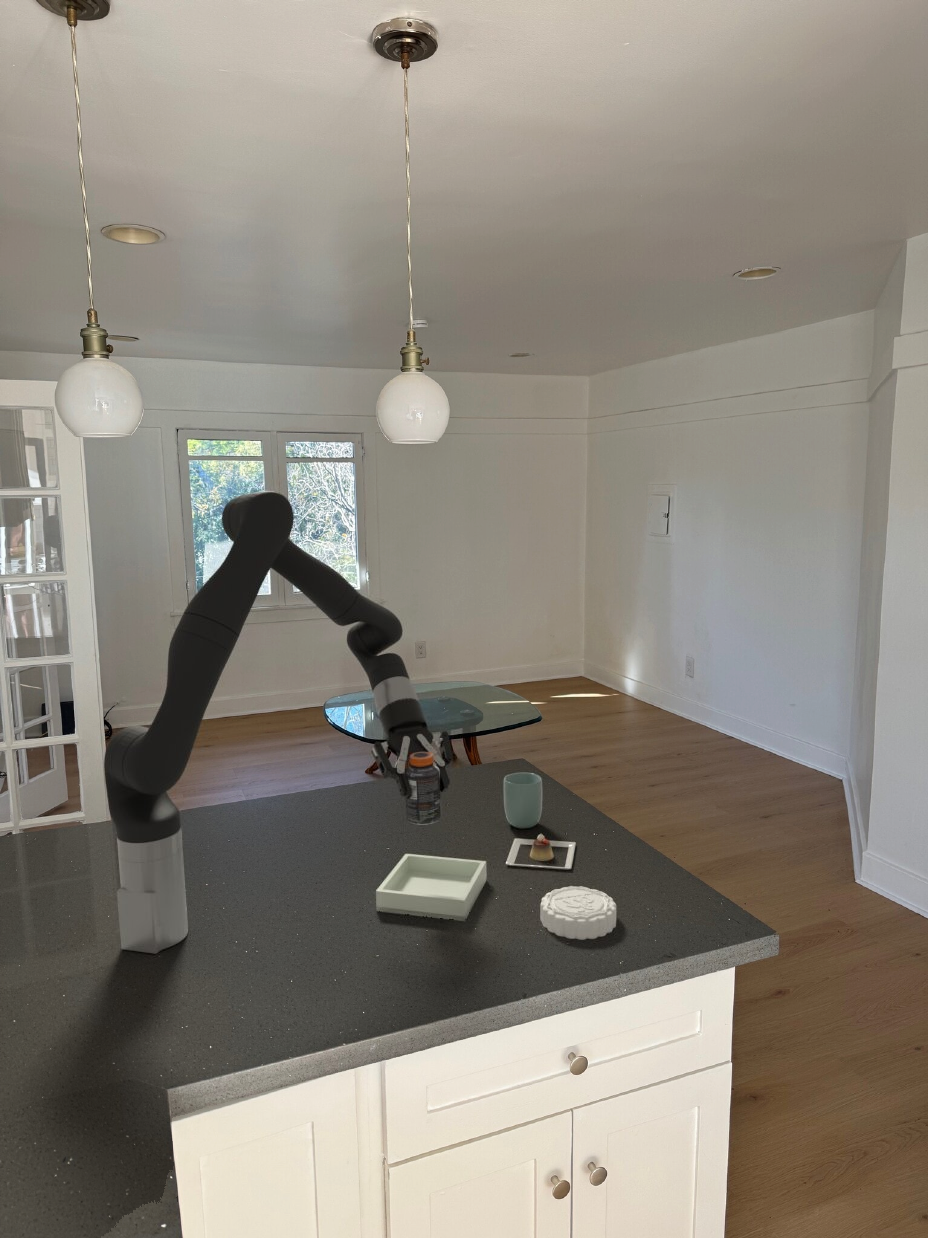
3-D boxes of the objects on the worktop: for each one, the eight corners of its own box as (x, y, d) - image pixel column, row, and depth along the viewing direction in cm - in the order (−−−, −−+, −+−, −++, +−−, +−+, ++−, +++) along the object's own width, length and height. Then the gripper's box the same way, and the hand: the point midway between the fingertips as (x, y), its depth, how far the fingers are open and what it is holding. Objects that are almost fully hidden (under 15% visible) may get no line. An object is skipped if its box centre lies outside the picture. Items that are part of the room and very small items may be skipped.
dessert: (571, 874, 149) (571, 849, 149) (505, 869, 152) (505, 845, 151) (575, 847, 161) (575, 824, 160) (514, 843, 163) (514, 820, 163)
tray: (464, 921, 132) (464, 900, 132) (376, 911, 136) (375, 891, 135) (486, 880, 146) (486, 861, 146) (406, 872, 150) (405, 853, 150)
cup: (497, 822, 173) (497, 775, 172) (530, 815, 177) (530, 770, 175) (515, 835, 166) (515, 787, 165) (549, 828, 170) (548, 781, 168)
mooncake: (557, 946, 125) (557, 924, 124) (529, 909, 136) (529, 889, 136) (629, 934, 128) (630, 912, 127) (596, 899, 139) (597, 879, 139)
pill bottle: (443, 812, 143) (441, 749, 141) (439, 826, 137) (437, 760, 135) (408, 812, 143) (406, 749, 142) (403, 825, 138) (401, 759, 136)
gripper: (364, 702, 141) (391, 790, 132) (441, 692, 147) (472, 775, 138) (355, 725, 146) (381, 811, 138) (430, 714, 153) (459, 796, 144)
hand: (427, 793), depth 138 cm, fingers closed on pill bottle, 6 cm apart
